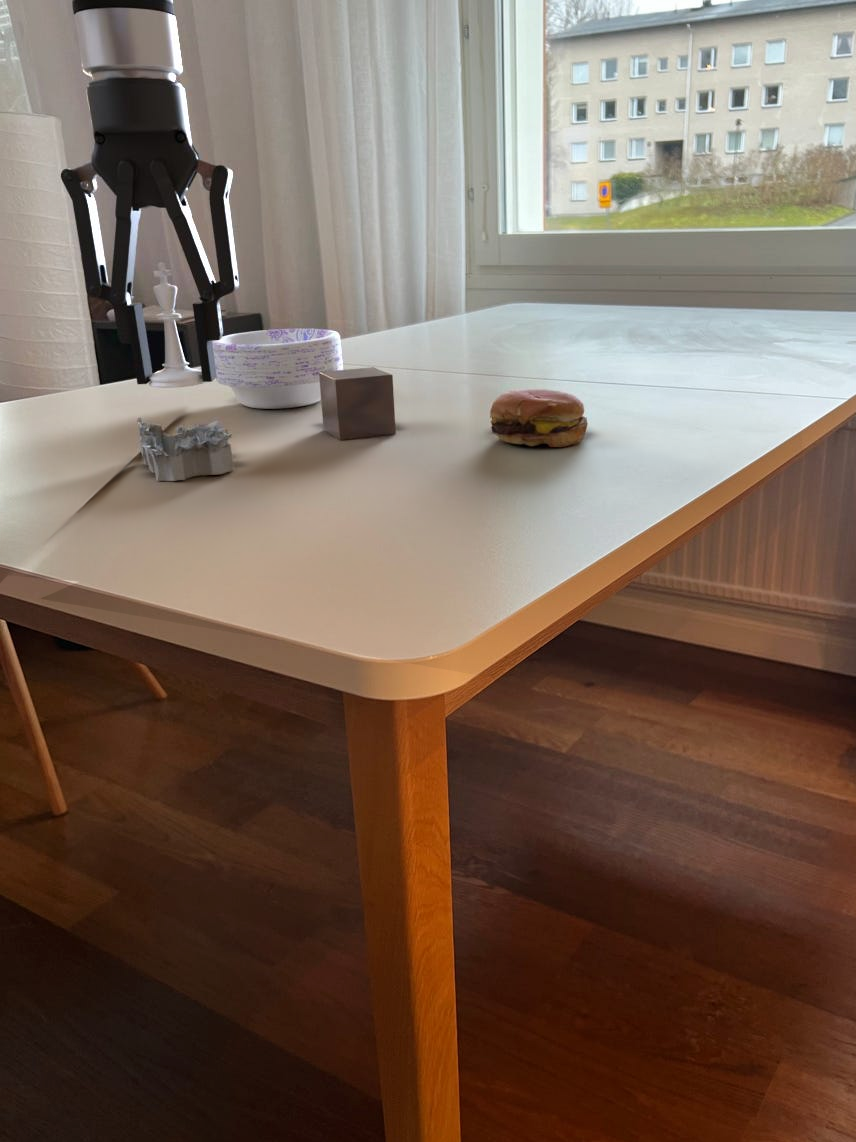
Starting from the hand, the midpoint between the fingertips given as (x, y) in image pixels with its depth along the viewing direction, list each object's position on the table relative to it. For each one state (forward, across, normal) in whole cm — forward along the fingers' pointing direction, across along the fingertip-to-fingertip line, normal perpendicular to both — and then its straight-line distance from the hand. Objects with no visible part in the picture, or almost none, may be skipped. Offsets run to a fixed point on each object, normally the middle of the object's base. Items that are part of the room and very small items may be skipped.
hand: (177, 380), depth 88 cm
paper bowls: (+8, -5, -32) cm, 33 cm away
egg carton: (+8, 0, 0) cm, 8 cm away
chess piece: (0, 0, 0) cm, 0 cm away
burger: (+8, -33, -6) cm, 35 cm away
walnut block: (+8, -15, -13) cm, 21 cm away
